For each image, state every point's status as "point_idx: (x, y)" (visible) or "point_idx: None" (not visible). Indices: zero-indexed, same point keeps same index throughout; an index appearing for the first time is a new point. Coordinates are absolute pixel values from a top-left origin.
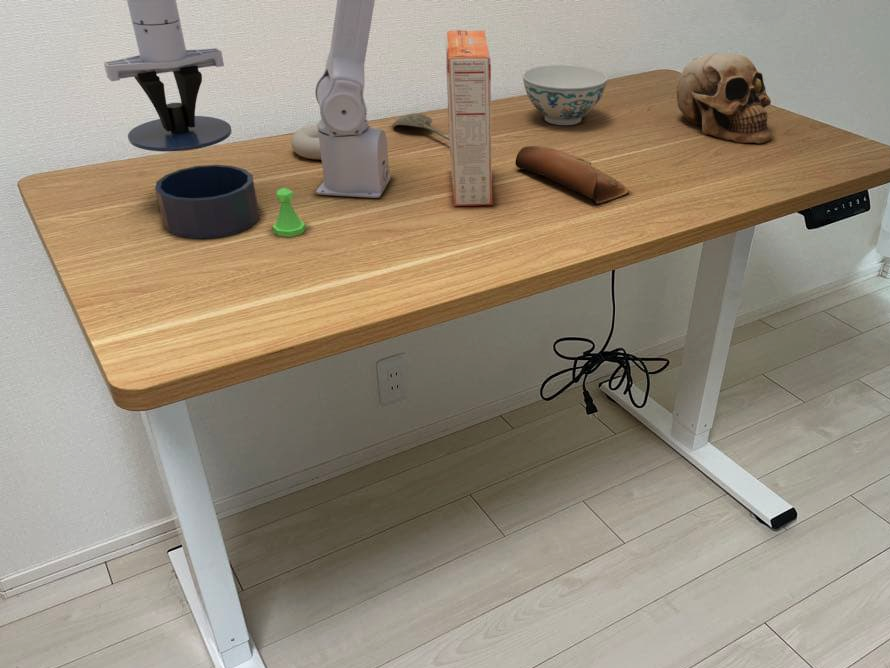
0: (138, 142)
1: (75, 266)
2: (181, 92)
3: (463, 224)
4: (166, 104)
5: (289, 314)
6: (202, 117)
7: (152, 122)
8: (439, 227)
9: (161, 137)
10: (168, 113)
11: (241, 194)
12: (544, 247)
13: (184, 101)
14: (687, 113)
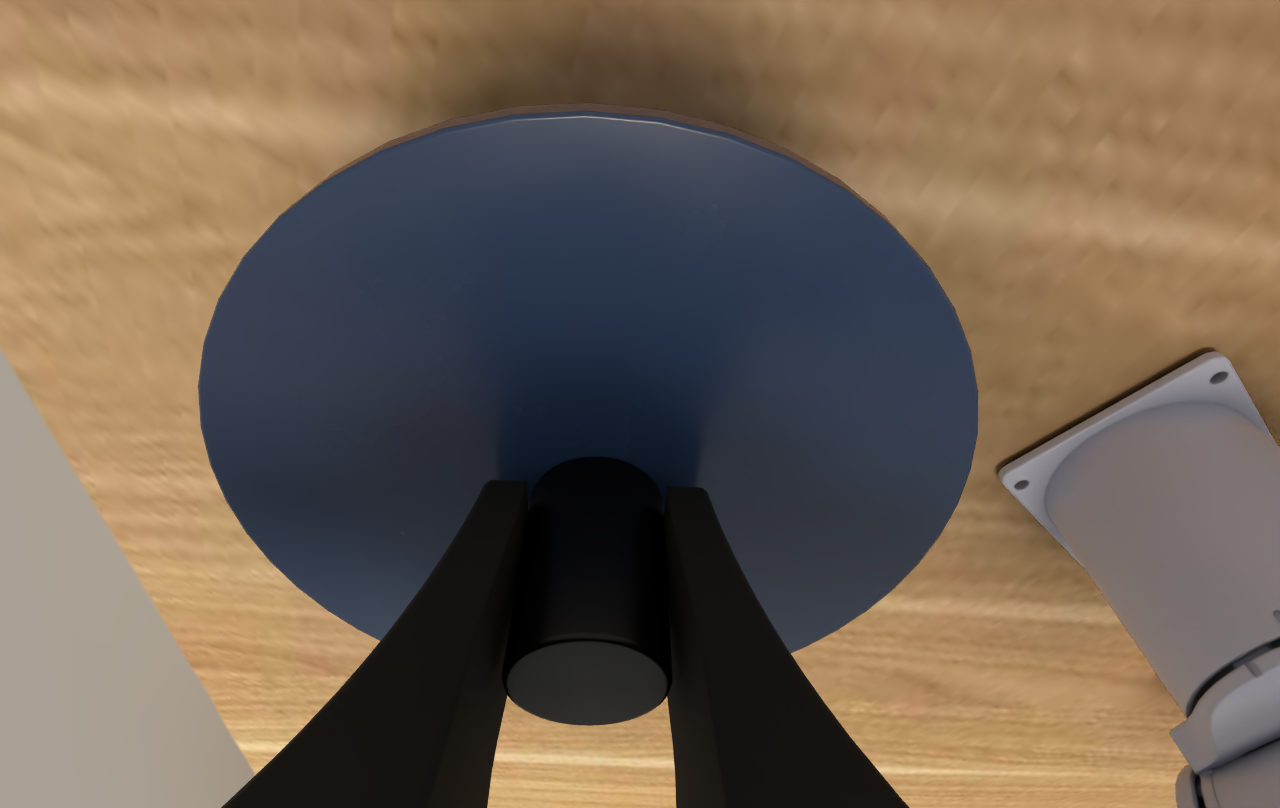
0: (286, 555)
1: (138, 522)
2: (697, 774)
3: (1070, 722)
4: (487, 794)
5: (567, 788)
6: (905, 316)
7: (440, 196)
8: (1022, 713)
9: (446, 543)
10: (503, 703)
11: None
12: (1061, 805)
13: (684, 714)
14: None
